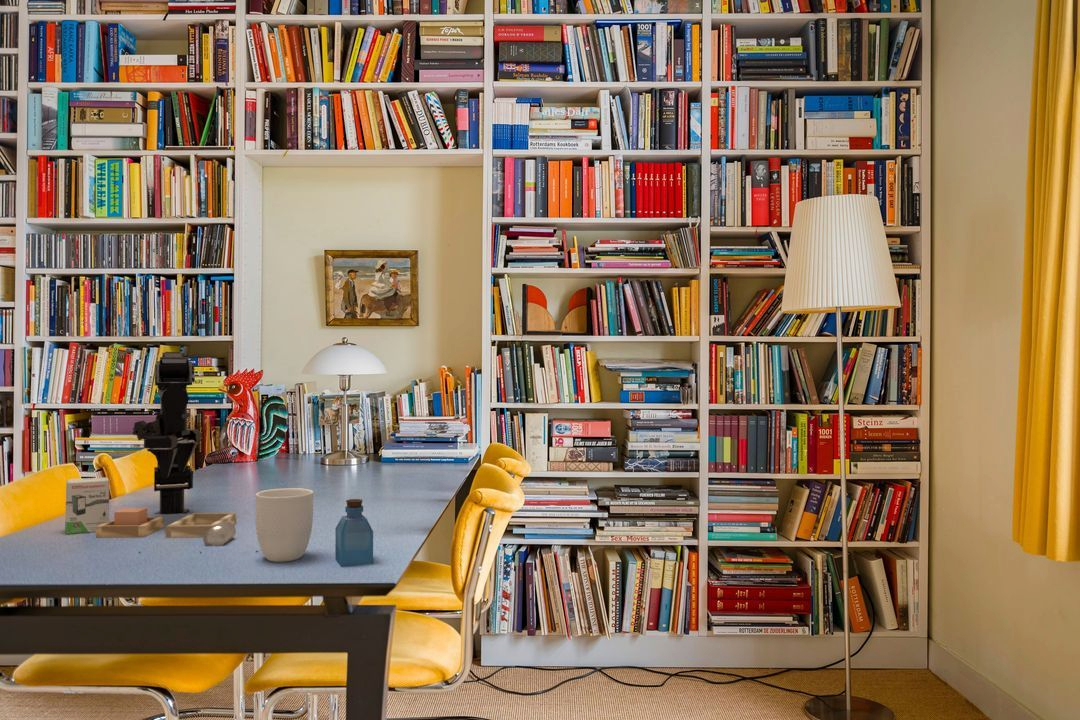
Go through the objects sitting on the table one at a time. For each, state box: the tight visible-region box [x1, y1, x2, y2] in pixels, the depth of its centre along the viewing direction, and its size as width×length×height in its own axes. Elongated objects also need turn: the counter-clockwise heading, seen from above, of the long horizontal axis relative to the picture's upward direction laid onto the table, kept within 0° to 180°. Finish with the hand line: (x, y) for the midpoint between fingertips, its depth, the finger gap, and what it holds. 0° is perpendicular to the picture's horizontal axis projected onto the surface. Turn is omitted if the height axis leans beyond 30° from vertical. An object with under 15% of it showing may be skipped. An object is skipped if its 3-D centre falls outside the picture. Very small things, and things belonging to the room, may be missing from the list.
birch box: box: [164, 512, 237, 539], centre depth 179 cm, size 15×10×3 cm
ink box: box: [64, 476, 110, 535], centre depth 181 cm, size 9×5×12 cm, turn 123°
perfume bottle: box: [334, 498, 374, 567], centre depth 155 cm, size 6×6×12 cm
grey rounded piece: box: [202, 521, 237, 547], centre depth 168 cm, size 7×4×4 cm, turn 3°
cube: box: [113, 507, 148, 525], centre depth 177 cm, size 5×5×5 cm
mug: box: [254, 487, 314, 563], centre depth 158 cm, size 15×11×13 cm
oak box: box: [95, 516, 165, 539], centre depth 176 cm, size 10×10×3 cm
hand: (173, 474), depth 188 cm, fingers open, 9 cm apart
